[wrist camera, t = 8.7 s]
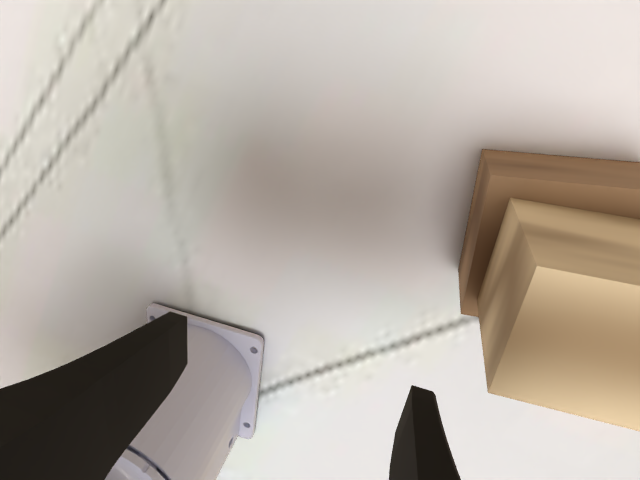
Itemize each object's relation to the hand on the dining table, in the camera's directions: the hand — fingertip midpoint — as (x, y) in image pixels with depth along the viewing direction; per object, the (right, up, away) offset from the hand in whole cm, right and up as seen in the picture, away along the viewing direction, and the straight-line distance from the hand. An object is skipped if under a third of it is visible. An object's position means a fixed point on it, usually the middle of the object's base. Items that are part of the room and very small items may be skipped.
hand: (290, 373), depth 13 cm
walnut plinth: (+11, +5, +6) cm, 13 cm away
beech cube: (+10, +3, +3) cm, 10 cm away
